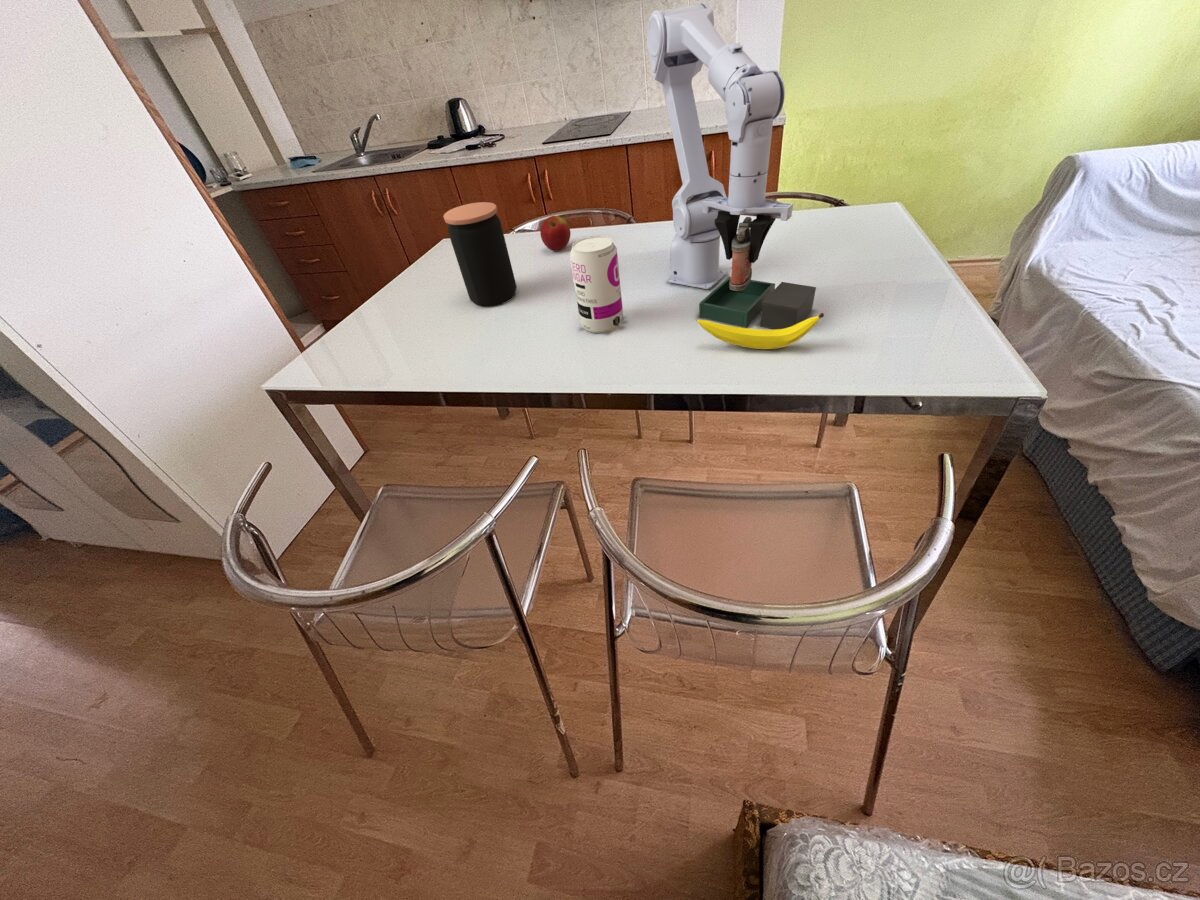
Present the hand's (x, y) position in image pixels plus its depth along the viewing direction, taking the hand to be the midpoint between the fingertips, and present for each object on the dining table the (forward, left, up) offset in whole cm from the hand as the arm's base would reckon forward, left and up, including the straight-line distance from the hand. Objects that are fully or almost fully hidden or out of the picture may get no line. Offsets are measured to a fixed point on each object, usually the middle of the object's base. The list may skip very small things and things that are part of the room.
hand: (741, 259), depth 84 cm
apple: (-54, +11, -9) cm, 56 cm away
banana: (+8, -12, -9) cm, 17 cm away
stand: (+9, -1, -9) cm, 13 cm away
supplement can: (-20, -16, -9) cm, 27 cm away
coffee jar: (-50, -16, -9) cm, 53 cm away
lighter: (0, 0, -4) cm, 4 cm away
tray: (0, 0, -9) cm, 9 cm away
